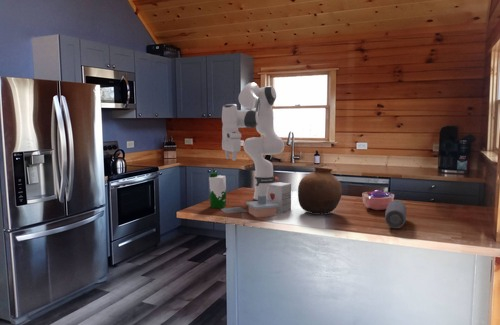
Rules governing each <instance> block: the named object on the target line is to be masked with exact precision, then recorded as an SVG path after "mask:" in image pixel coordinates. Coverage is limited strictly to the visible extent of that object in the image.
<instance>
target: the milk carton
mask: <svg viewBox="0 0 500 325" xmlns="http://www.w3.org/2000/svg"><path fill="white" fill-rule="evenodd" d="M209 174H210V176H209V177H208V181H209V182H208V183H209V201H210V203H209V204H210V208H211V209H223V208H226V207H225V206H226V205H227V181H226V180H227V178H226V177H227V176H226V175H218V172H210V173H209Z"/></svg>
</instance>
